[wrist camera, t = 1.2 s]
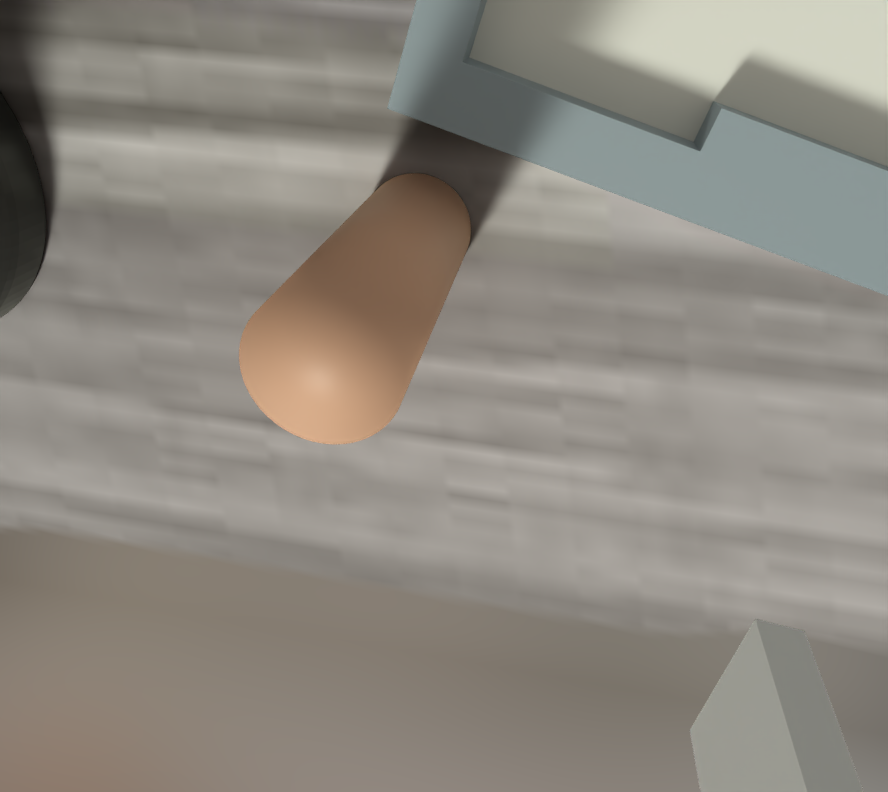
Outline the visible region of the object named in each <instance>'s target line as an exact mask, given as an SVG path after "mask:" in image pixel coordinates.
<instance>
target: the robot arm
mask: <svg viewBox="0 0 888 792" xmlns="http://www.w3.org/2000/svg"><path fill="white" fill-rule="evenodd" d="M45 234H46V217H45V205H44V198H43V192H42V187H41V182H40V178H39V174H38V171H37V167H36V164H35V161H34V158H33V155H32V153H31V150H30V148H29V145H28V143H27V140H26V138H25V136H24V134H23V132H22V130H21V127H20V125H19V124H18V122H17V120H16V118H15V116H14V114H13V112H12V111H11V109H10V107H9V106H8V104H7V103H6V101H5V99H4V98H3V96H2V95H1V93H0V318H1V317H2V316H4V315H5V314H7V313H8V312H9V311H10V310H12V309H13V308H14V307H15V306H16V305H17V304H18V303H19V302H20V301H21V300H22V298H23V297H24V296H25V294H26V293H27V292H28V290H29V288H30V287H31V285H32V283H33V281H34V279H35V277H36V275H37V272H38V269H39V267H40V263H41V260H42V256H43V250H44V245H45ZM690 734H691V740H692V746H693V752H694V758H695V763H696V769H697V775H698V781H699V787H700V792H864V791H863V788H862V786H861V783H860V780H859V777H858V775H857V772H856V769H855V767H854V764H853V761H852V758H851V756H850V753H849V750H848V748H847V745H846V742H845V739H844V737H843V734H842V731H841V729H840V726H839V723H838V720H837V718H836V715H835V712H834V710H833V707H832V704H831V701H830V699H829V696H828V693H827V691H826V688H825V685H824V683H823V680H822V677H821V674H820V672H819V669H818V666H817V664H816V661H815V658H814V656H813V653H812V650H811V647H810V645H809V642H808V639H807V636H806V634H805V631H803V630H799V629H795V628H791V627H787V626H783V625H779V624H775V623H770V622H766V621H762V620H758V619H755V620H754V622H753V624H752V625H751V627H750V629H749V630H748V632H747V634H746V636H745V637H744V639H743V641H742V642H741V644H740V646H739V647H738V649H737V651H736V653H735V654H734V656H733V658H732V659H731V661H730V663H729V665H728V666H727V668H726V670H725V671H724V673H723V675H722V676H721V678H720V680H719V682H718V683H717V685H716V687H715V689H714V690H713V692H712V693H711V695H710V697H709V698H708V700H707V702H706V704H705V705H704V707H703V709H702V710H701V712H700V714H699V715H698V717H697V719H696V721H695V722H694V724H693V726H692V727H691V729H690Z"/></svg>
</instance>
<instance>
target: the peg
mask: <svg viewBox="0 0 888 792" xmlns="http://www.w3.org/2000/svg"><path fill="white" fill-rule="evenodd" d="M470 237H471V223H470V218H469V214H468V211H467V208H466V206H465V204H464V202H463V201H462V199H461V198H460V196H459V195H458V194H457V193H456V192H455V190H454V189H453V188H451V187H450V186H449V185H448V184H446V183H445V182H443V181H442V180H440V179H438V178H435V177H433V176H430V175H426V174H420V173H409V174H403V175H399V176H396V177H394V178H391V179H390V180H388V181H386V182H385V183H384V184H382V185H381V186H380V187H379V188H378V189H377V190H376V191H375V192H374V193H373V194H372V195H371V196H370V197H369V198H368V199H367V200H366V201H365V202H364V203H363V204H362V205H361V206H360V207H359V208H358V209H357V210H356V211H355V212H354V213H353V214H352V215H351V216H350V217H349V218H348V219H347V220H346V221H345V222H344V223H343V224H342V225H341V226H340V227H339V228H338V229H337V230H336V231H335V232H334V233H333V234H332V235H331V236H330V237H329V238H328V239H327V240H326V241H325V242H324V243H323V244H322V245H321V246H320V247H319V248H318V249H317V250H316V251H315V252H314V253H313V254H312V255H311V256H310V257H309V258H308V259H307V260H306V261H305V262H304V263H303V264H302V265H301V266H300V267H299V269H298V270H297V271H296V272H295V273H294V274H293V275H292V276H291V277H290V278H289V279H288V280H287V281H286V282H285V283H284V284H283V285H282V286H281V287H280V288H279V289H278V290H277V291H276V292H275V293H274V294H273V295H272V296H271V297H270V298H269V299H268V300H267V301H266V302H265V303H264V304H263V305H262V306H261V307H260V308H259V309H258V310H257V311H256V312H255V313H254V314H253V315H252V317H251V318H250V320H249V321H248V323H247V325H246V327H245V329H244V331H243V334H242V338H241V341H240V349H239V362H240V369H241V373H242V377H243V380H244V383H245V385H246V387H247V389H248V391H249V393H250V395H251V397H252V398H253V400H254V401H255V403H256V404H257V405H258V407H259V408H260V409H261V410H262V411H263V412H264V413H265V414H266V415H267V416H268V417H269V418H270V419H271V420H272V421H273V422H275V423H276V424H277V425H279V426H280V427H282V428H283V429H285V430H286V431H288V432H290V433H292V434H294V435H296V436H298V437H301V438H303V439H306V440H310V441H313V442H318V443H323V444H347V443H353V442H357V441H360V440H363V439H366V438H368V437H370V436H372V435H374V434H375V433H377V432H379V431H380V430H381V429H383V428H384V427H385V426H386V425H387V424H388V423H389V422H390V421H391V420H392V418H393V417H394V416H395V414H396V412H397V411H398V409H399V407H400V405H401V402H402V400H403V398H404V395H405V393H406V391H407V388H408V386H409V384H410V381H411V379H412V377H413V374H414V372H415V370H416V367H417V365H418V363H419V361H420V358H421V356H422V354H423V351H424V349H425V347H426V344H427V342H428V340H429V337H430V335H431V333H432V330H433V328H434V326H435V323H436V321H437V319H438V316H439V314H440V312H441V309H442V307H443V305H444V302H445V300H446V298H447V295H448V293H449V291H450V288H451V286H452V284H453V281H454V279H455V277H456V274H457V272H458V270H459V267H460V265H461V263H462V261H463V258H464V256H465V254H466V251H467V249H468V246H469V243H470Z"/></svg>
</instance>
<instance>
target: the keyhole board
mask: <svg viewBox="0 0 888 792" xmlns="http://www.w3.org/2000/svg"><path fill="white" fill-rule="evenodd" d="M387 109H390V110H393V111H395V112H398V113H401V114H403V115H406V116H409V117H411V118H414V119H417V120H419V121H422V122H425V123H427V124H430V125H433V126H435V127H438V128H441V129H444V130H446V131H449V132H452V133H454V134H457V135H460V136H462V137H465V138H468V139H470V140H473V141H476V142H478V143H481V144H484V145H486V146H489V147H492V148H494V149H497V150H500V151H502V152H505V153H508V154H510V155H513V156H516V157H518V158H521V159H524V160H526V161H529V162H532V163H534V164H537V165H540V166H542V167H545V168H548V169H550V170H553V171H556V172H558V173H561V174H564V175H566V176H569V177H572V178H574V179H577V180H580V181H582V182H585V183H588V184H590V185H593V186H596V187H598V188H601V189H604V190H606V191H609V192H612V193H614V194H617V195H620V196H622V197H625V198H628V199H630V200H633V201H636V202H638V203H641V204H644V205H646V206H649V207H652V208H654V209H657V210H660V211H662V212H665V213H668V214H671V215H673V216H676V217H679V218H681V219H684V220H687V221H689V222H692V223H695V224H697V225H700V226H703V227H705V228H708V229H711V230H713V231H716V232H719V233H721V234H724V235H727V236H729V237H732V238H735V239H737V240H740V241H743V242H745V243H748V244H751V245H753V246H756V247H759V248H761V249H764V250H767V251H769V252H772V253H775V254H777V255H780V256H783V257H785V258H788V259H791V260H793V261H796V262H799V263H801V264H804V265H807V266H809V267H812V268H815V269H817V270H820V271H823V272H825V273H828V274H831V275H833V276H836V277H839V278H841V279H844V280H847V281H849V282H852V283H855V284H857V285H860V286H863V287H865V288H868V289H871V290H873V291H876V292H879V293H881V294H884V295H887V296H888V0H417V1H416V5H415V8H414V12H413V16H412V19H411V23H410V27H409V30H408V34H407V38H406V42H405V45H404V49H403V53H402V56H401V60H400V64H399V67H398V71H397V75H396V79H395V82H394V86H393V90H392V93H391V97H390V101H389V104H388V108H387Z"/></svg>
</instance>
